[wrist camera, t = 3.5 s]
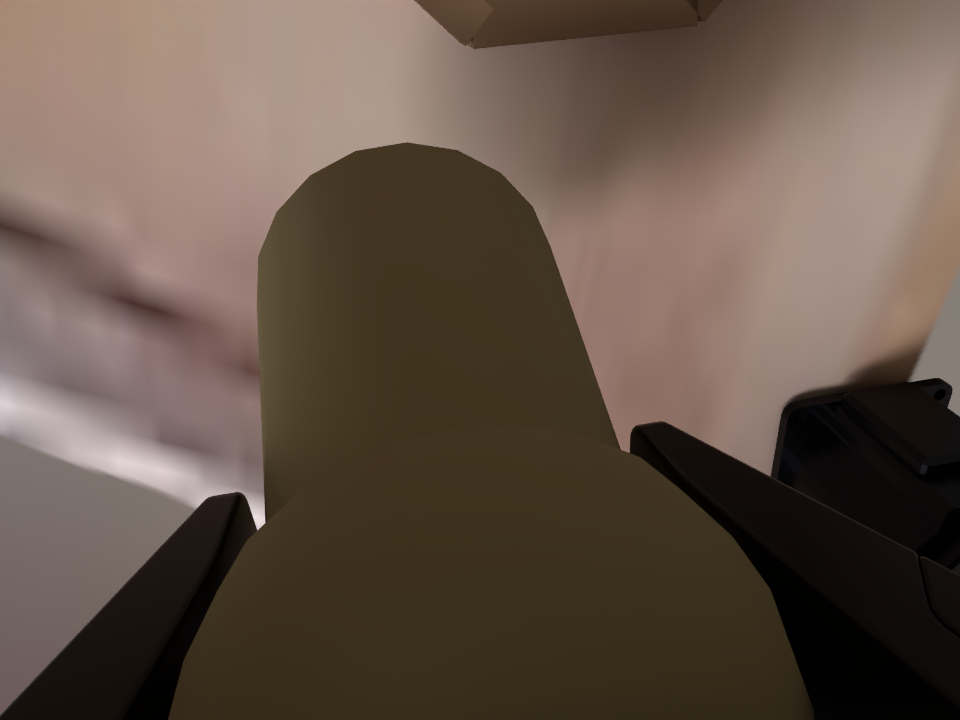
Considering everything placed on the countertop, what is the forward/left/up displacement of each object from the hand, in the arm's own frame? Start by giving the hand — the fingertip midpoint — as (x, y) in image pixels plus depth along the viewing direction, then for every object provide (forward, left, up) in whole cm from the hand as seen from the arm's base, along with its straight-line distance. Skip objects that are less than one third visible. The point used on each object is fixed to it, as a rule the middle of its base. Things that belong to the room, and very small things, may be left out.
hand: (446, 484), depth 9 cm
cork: (0, 0, -6) cm, 6 cm away
